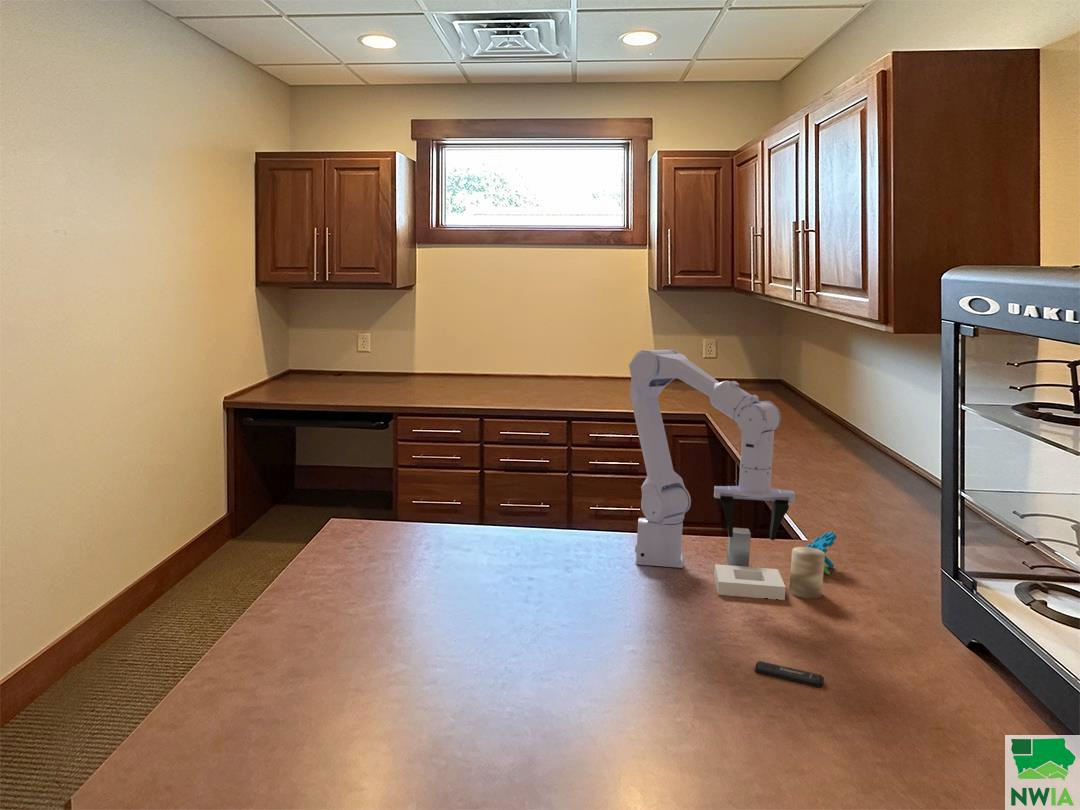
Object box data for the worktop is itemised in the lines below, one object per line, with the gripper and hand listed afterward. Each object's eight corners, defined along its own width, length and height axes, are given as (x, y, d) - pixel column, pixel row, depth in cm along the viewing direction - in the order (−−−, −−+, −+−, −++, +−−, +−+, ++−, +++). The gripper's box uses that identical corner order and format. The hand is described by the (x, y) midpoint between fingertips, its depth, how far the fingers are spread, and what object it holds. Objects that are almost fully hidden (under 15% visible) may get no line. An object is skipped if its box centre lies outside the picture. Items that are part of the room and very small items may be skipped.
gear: (795, 548, 169) (833, 522, 165) (815, 569, 169) (852, 543, 164) (790, 570, 159) (830, 543, 155) (811, 592, 159) (851, 566, 154)
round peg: (791, 597, 145) (794, 555, 144) (787, 586, 151) (789, 545, 150) (824, 599, 144) (827, 557, 143) (818, 588, 150) (821, 548, 149)
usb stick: (753, 675, 114) (753, 665, 114) (757, 667, 117) (757, 658, 116) (821, 691, 110) (822, 681, 110) (823, 683, 112) (824, 673, 112)
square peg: (728, 571, 158) (730, 532, 157) (726, 564, 162) (728, 527, 161) (748, 572, 158) (750, 534, 157) (746, 566, 162) (748, 528, 161)
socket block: (717, 594, 145) (718, 581, 145) (714, 576, 155) (714, 564, 154) (784, 600, 143) (785, 587, 143) (776, 581, 153) (777, 569, 153)
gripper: (717, 468, 143) (713, 540, 145) (799, 473, 141) (794, 546, 143) (715, 461, 150) (710, 529, 152) (793, 465, 148) (788, 535, 150)
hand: (751, 537), depth 148 cm, fingers open, 7 cm apart
